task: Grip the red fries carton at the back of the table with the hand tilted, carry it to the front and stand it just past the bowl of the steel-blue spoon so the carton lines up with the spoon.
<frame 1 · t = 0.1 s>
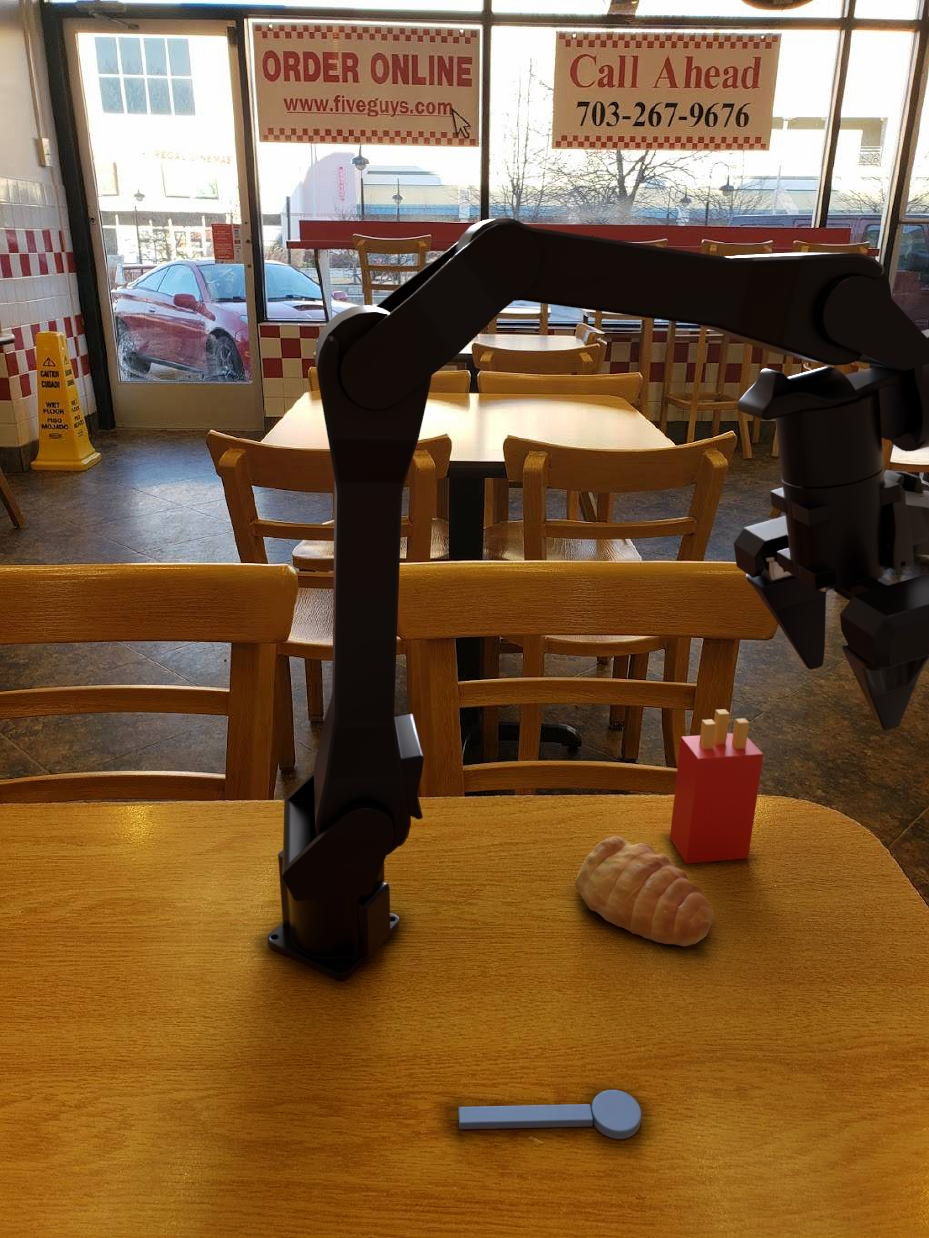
hand: (850, 695, 62), 15 cm above the table, tool pointing down, fingers open, 9 cm apart
spoon: (553, 1119, 49), on the table
pastry: (639, 907, 66), on the table
fries carton: (708, 848, 72), on the table
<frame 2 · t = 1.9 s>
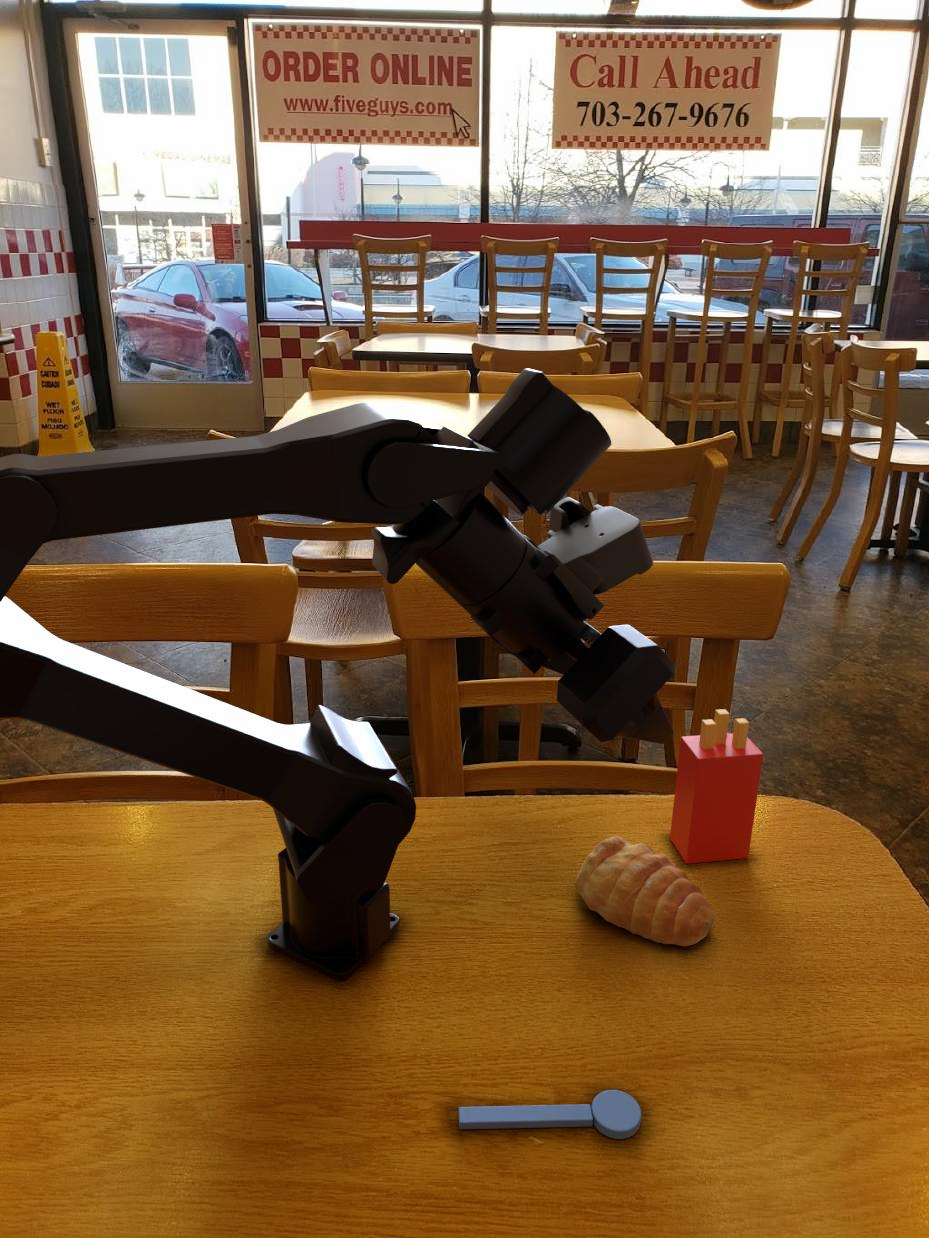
hand: (631, 707, 65), 13 cm above the table, tool tilted 45°, fingers open, 9 cm apart
nothing on the table moved.
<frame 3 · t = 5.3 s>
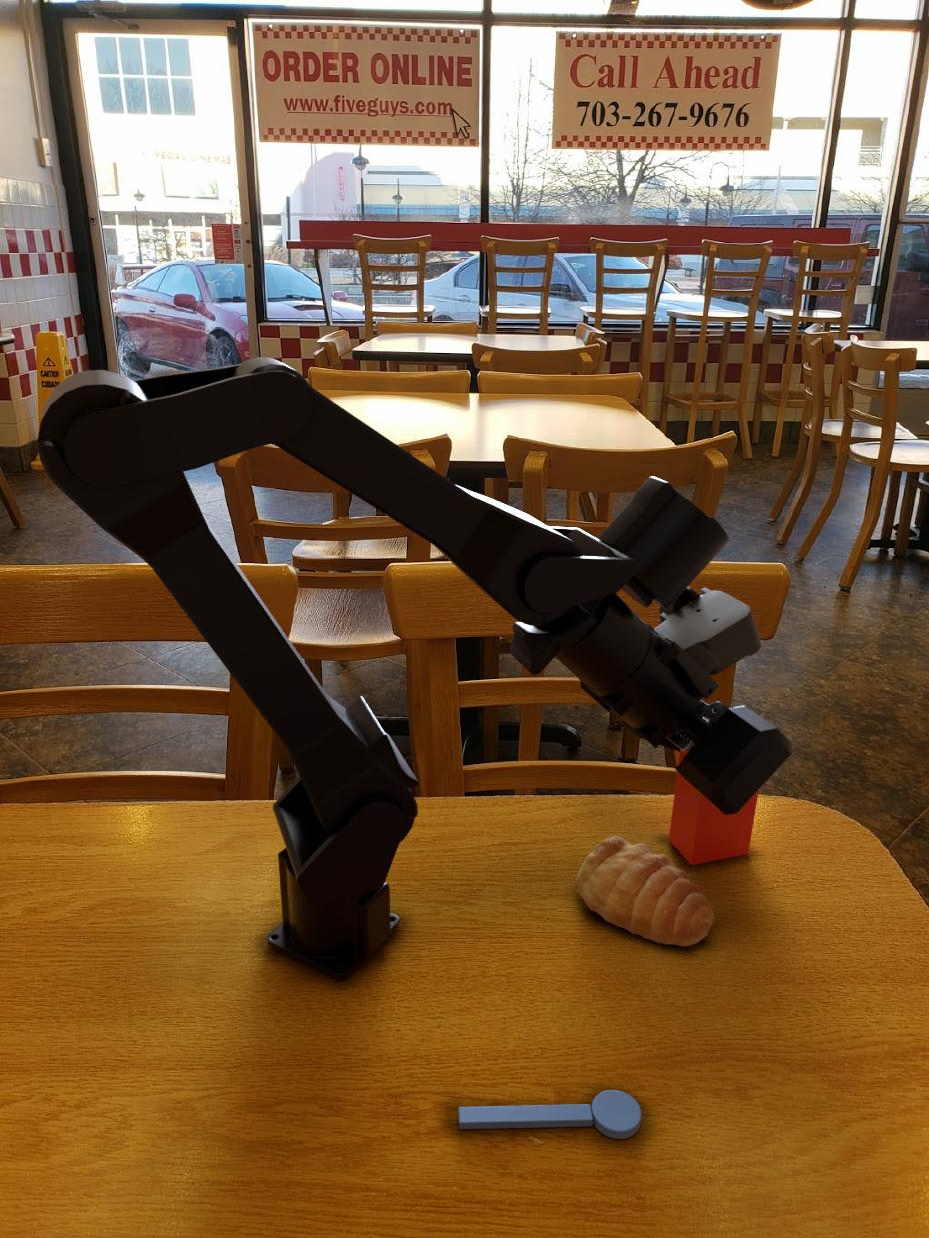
hand: (734, 770, 70), 7 cm above the table, tool tilted 45°, fingers closed on fries carton, 3 cm apart
fries carton: (708, 847, 72), on the table, touching gripper
everything else where it was.
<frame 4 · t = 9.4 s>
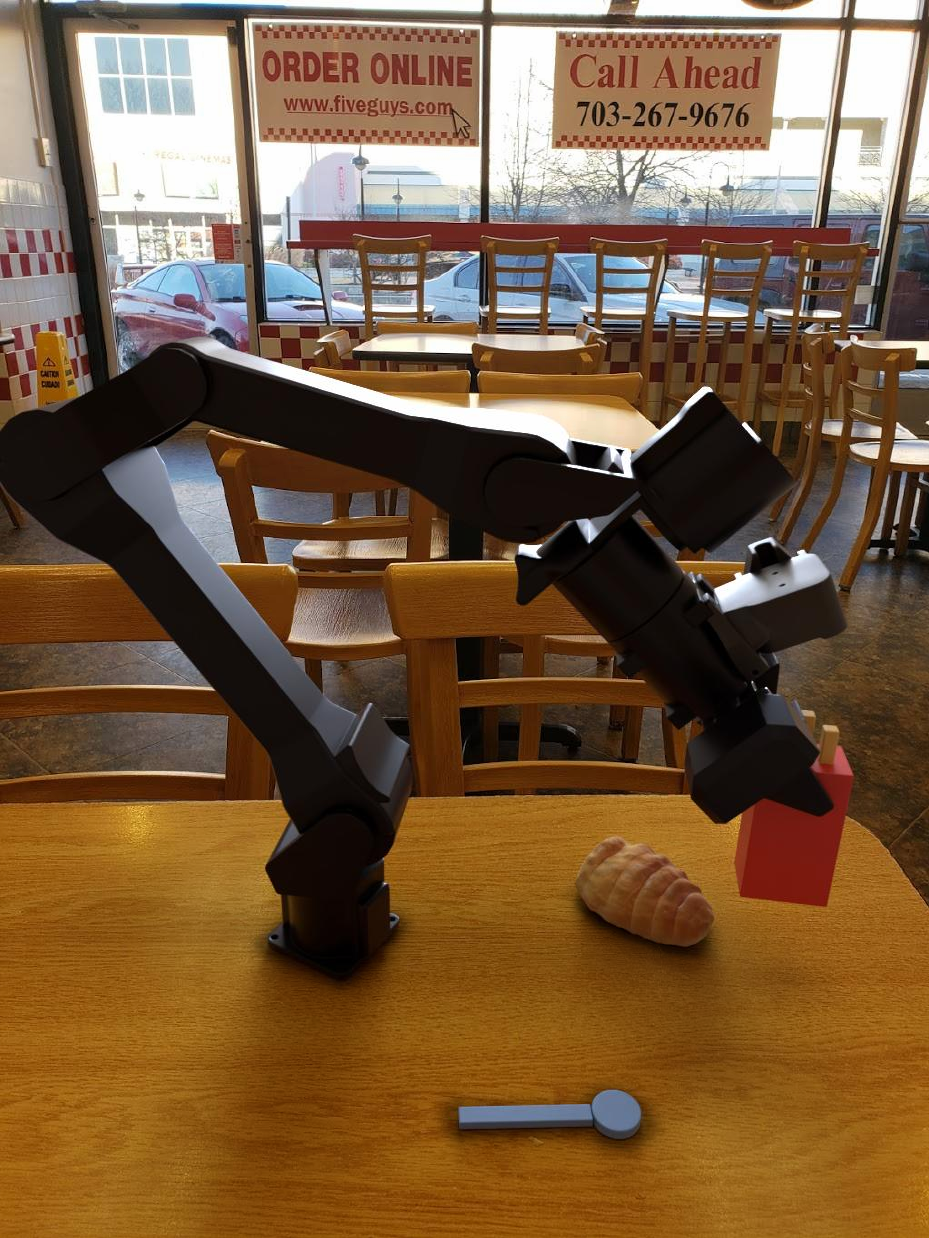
hand: (819, 793, 54), 14 cm above the table, tool tilted 45°, fingers closed on fries carton, 3 cm apart
fries carton: (778, 884, 57), point 7 cm above the table, touching gripper
everything else where it was.
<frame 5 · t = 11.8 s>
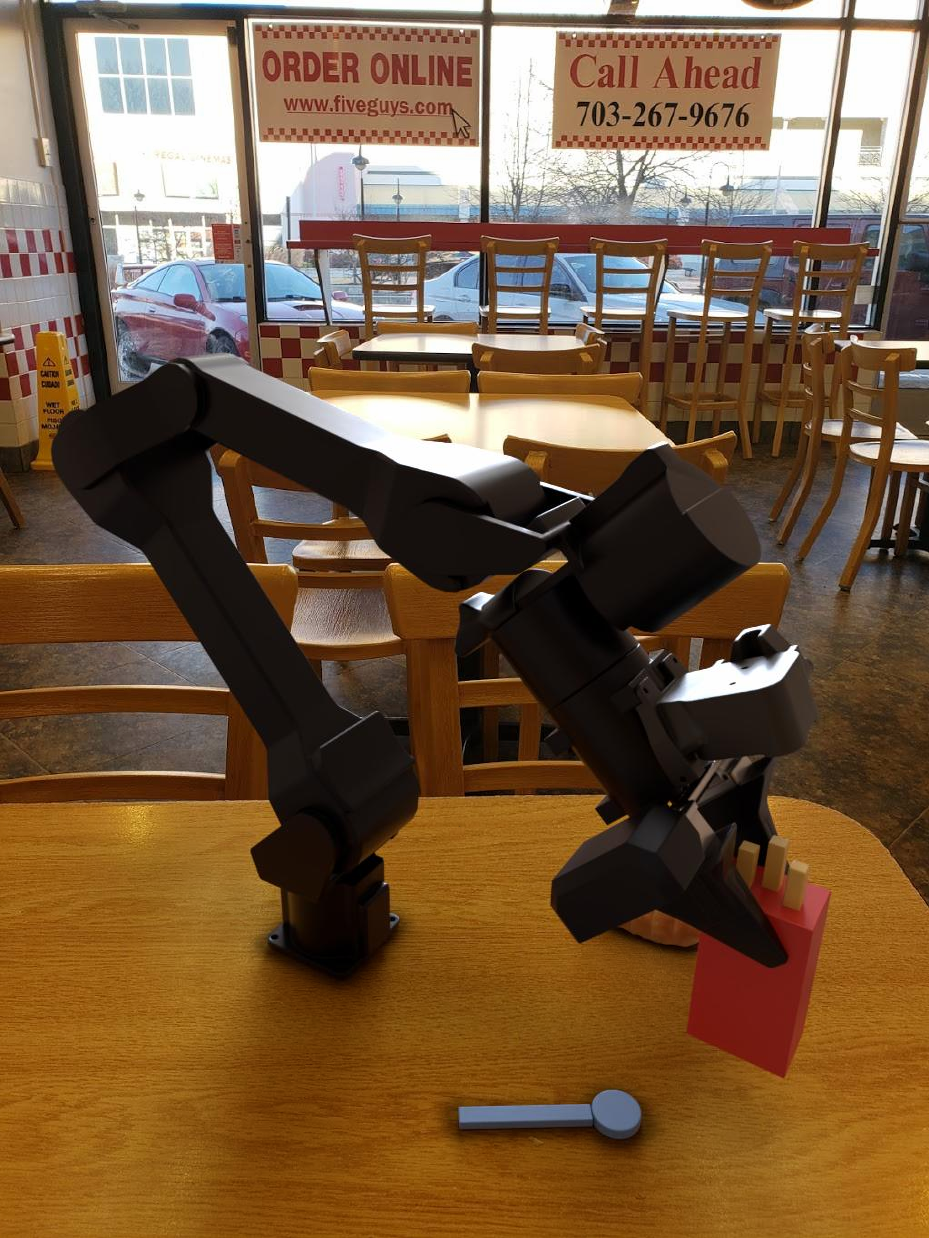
hand: (789, 940, 45), 12 cm above the table, tool tilted 45°, fingers closed on fries carton, 3 cm apart
fries carton: (744, 1033, 48), point 5 cm above the table, touching gripper
everything else where it was.
when the fingers open (7 cm above the table, at t = 13.6 s): fries carton stays where it is, on the table.
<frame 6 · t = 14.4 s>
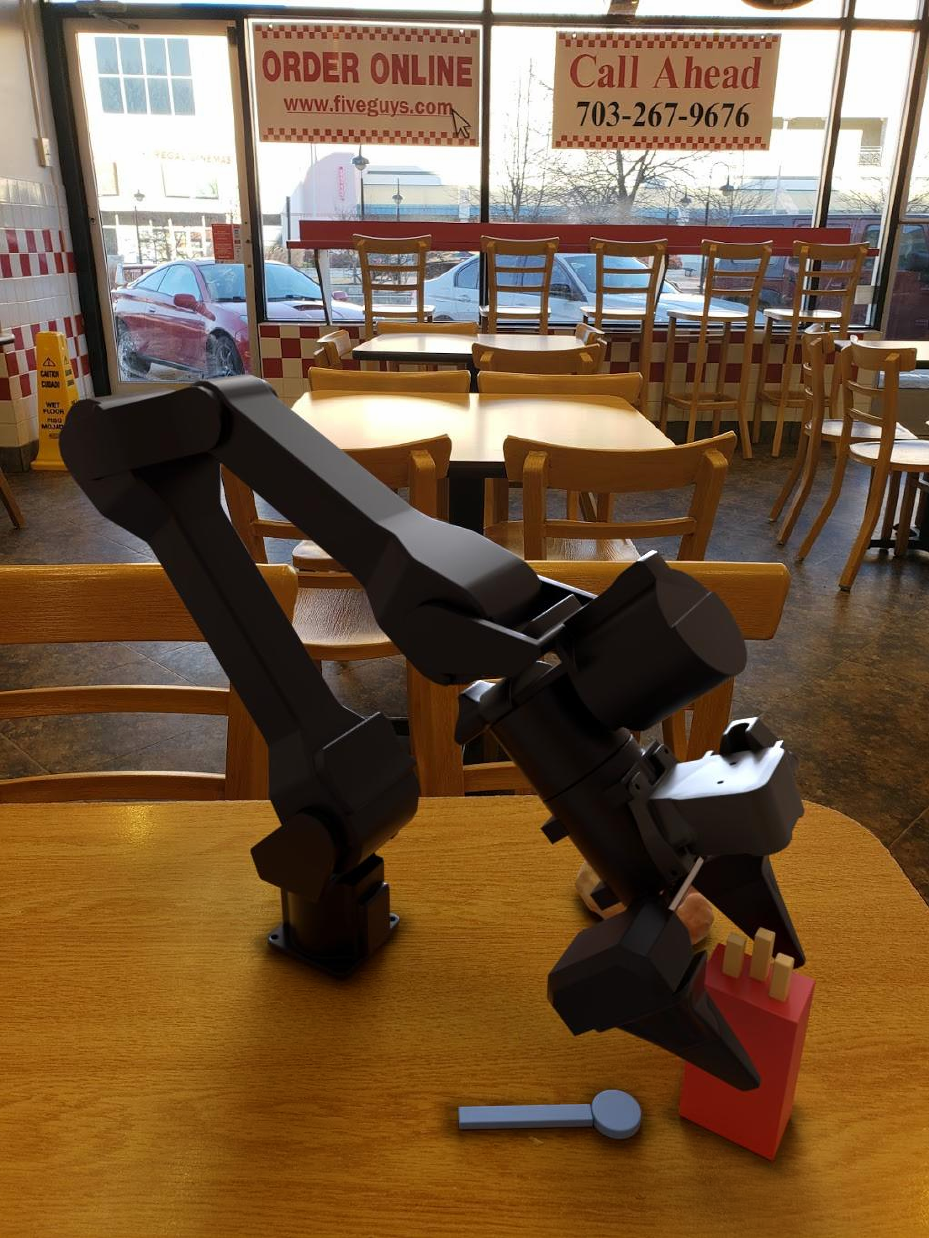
hand: (777, 1022, 47), 7 cm above the table, tool tilted 45°, fingers open, 9 cm apart
fries carton: (734, 1114, 50), on the table
everything else where it was.
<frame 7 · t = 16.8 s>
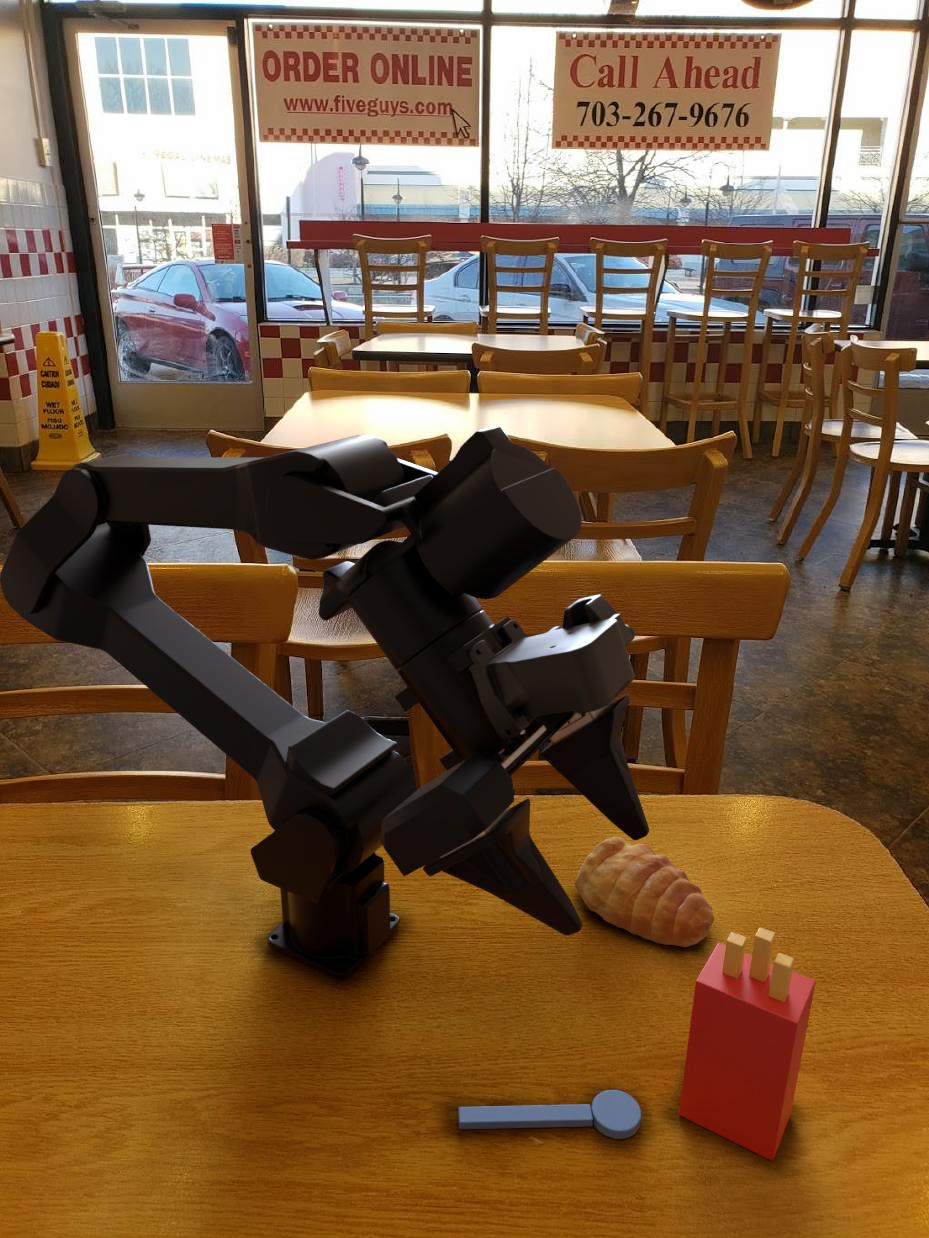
hand: (611, 880, 50), 12 cm above the table, tool tilted 45°, fingers open, 9 cm apart
nothing on the table moved.
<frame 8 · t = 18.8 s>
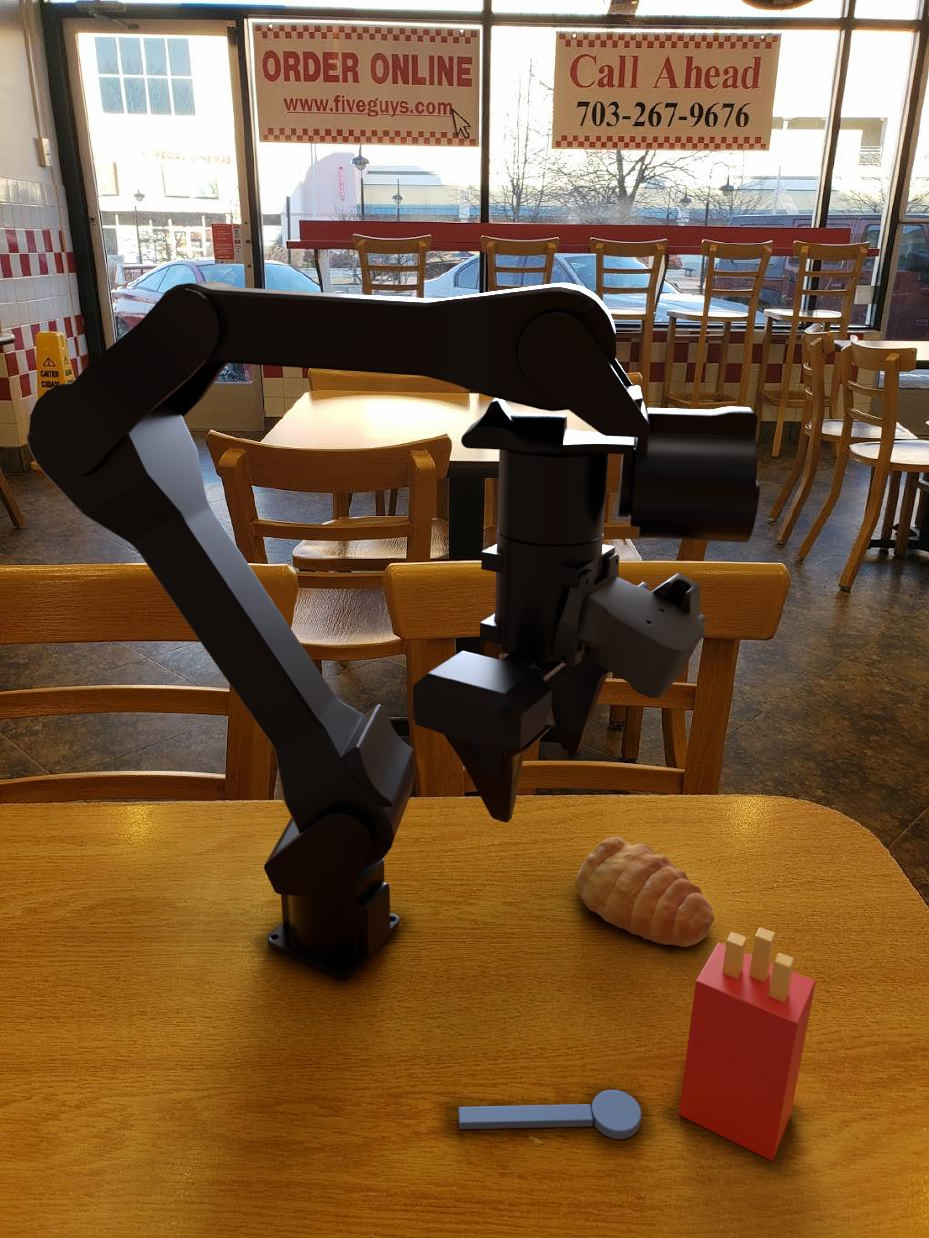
hand: (538, 782, 56), 13 cm above the table, tool pointing down, fingers open, 9 cm apart
nothing on the table moved.
at the end: fries carton 0.2 cm from the target spot on the table beside the spoon, on the table; fries carton tilted 0°; the gripper is holding nothing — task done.
